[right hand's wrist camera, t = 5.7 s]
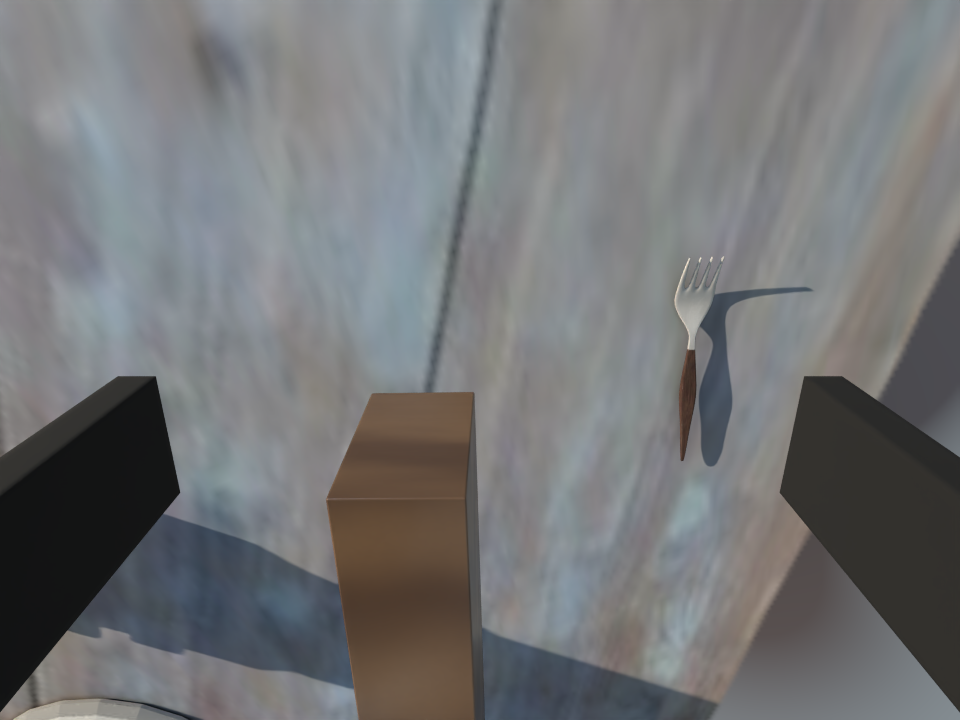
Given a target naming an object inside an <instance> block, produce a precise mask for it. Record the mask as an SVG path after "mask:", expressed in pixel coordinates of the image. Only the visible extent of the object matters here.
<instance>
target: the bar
mask: <svg viewBox="0 0 960 720" xmlns="http://www.w3.org/2000/svg"><path fill="white" fill-rule="evenodd" d="M326 502H327V509H328V516H329V523H330V529H331V536H332V543H333V549H334V556H335V563H336V570H337V576H338V583H339V590H340V597H341V603H342V610H343V617H344V624H345V630H346V637H347V644H348V651H349V657H350V664H351V671H352V678H353V684H354V691H355V698H356V705H357V711H358V718H359V720H485V711H484V679H483V648H482V616H481V585H480V553H479V522H478V491H477V459H476V428H475V396H474V392H450V393H373V394H372V395H371V397H370V399H369V402H368V404H367V406H366V408H365V411H364V413H363V415H362V418H361V420H360V422H359V425H358V427H357V429H356V432H355V434H354V436H353V438H352V441H351V443H350V445H349V448H348V450H347V452H346V455H345V457H344V459H343V461H342V464H341V466H340V468H339V471H338V473H337V475H336V478H335V480H334V482H333V485H332V487H331V489H330V491H329V494H328V496H327V498H326Z"/></svg>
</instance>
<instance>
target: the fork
mask: <svg viewBox="0 0 960 720" xmlns="http://www.w3.org/2000/svg"><path fill="white" fill-rule="evenodd" d="M724 258H725V257H724V256H723V257H722V259H721V261H720V263H719V266H718V268H717V270H716V272H715V274H714V277H713V279H712V282H711V284H710V286H709V287H706V281H707V277H708V273H709V270H710V266H711V263H712V260H713V257H711V259H710V261H709V264H708V266H707V268H706V270H705V273H704V275H703V278H702V280H701V283H700V285H699V286H698V287H697V288H696V287H695V282H696V278H697V274H698V270H699V266H700V263H701V259H702V258H701V257H700V259H699V262H698V264H697V266H696V269H695V271H694V274H693V276H692V279H691V281H690V284H689V286H688V287H687V288H685V287H684V284H685V279H686V275H687V271H688V266H689V263H690V260H691V258H689V259H688V262H687V264H686V267H685V269H684V272H683V274H682V277H681V280H680V283H679V286H678V289H677V292H676V295H675V307H676V310H677V312H678V314H679V316H680V318H681V320H682V321H683V323H684V324H685V326H686V328H687V330H688V333H689V343H688V349H687V354H686V358H685V363H684V368H683V372H682V377H681V383H680V390H679V412H680V456H681V461H683V460H684V456H685V451H686V446H687V441H688V435H689V430H690V424H691V419H692V415H693V410H694V405H695V398H696V363H695V337H696V333H697V330H698V328H699V326H700V324H701V323H702V321H703V319H704V318H705V316H706V314H707V312H708V310H709V309H710V306H711V304H712V301H713V298H714V293H715V288H716V283H717V279H718V276H719V273H720V269H721V266H722V263H723V260H724Z"/></svg>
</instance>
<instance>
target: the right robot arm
mask: <svg viewBox="0 0 960 720" xmlns="http://www.w3.org/2000/svg"><path fill="white" fill-rule="evenodd" d="M179 494H180V489H179V484H178V479H177V475H176V470H175V465H174V461H173V456H172V451H171V446H170V442H169V437H168V432H167V427H166V423H165V418H164V413H163V408H162V404H161V399H160V394H159V390H158V385H157V380H156V376H118V377H116V378H115V379H113V380H112V381H110V382H109V383H108V384H106V385H105V386H103V387H102V388H100V389H99V390H97V391H96V392H95V393H93V394H92V395H90V396H89V397H87V398H86V399H84V400H83V401H81V402H80V403H79V404H77V405H76V406H74V407H73V408H71V409H70V410H68V411H67V412H65V413H64V414H63V415H61V416H60V417H58V418H57V419H55V420H54V421H52V422H51V423H50V424H48V425H47V426H45V427H44V428H42V429H41V430H39V431H38V432H36V433H35V434H34V435H32V436H31V437H29V438H28V439H26V440H25V441H23V442H22V443H20V444H19V445H18V446H16V447H15V448H13V449H12V450H10V451H9V452H7V453H6V454H5V455H3V456H2V457H0V712H1V711H2V709H3V708H4V707H5V706H6V705H7V703H8V702H9V701H10V700H11V698H12V697H13V696H14V695H15V694H16V692H17V691H18V690H19V689H20V687H21V686H22V685H23V684H24V683H25V681H26V680H27V679H28V678H29V676H30V675H31V674H32V673H33V672H34V670H35V669H36V668H37V667H38V666H39V664H40V663H41V662H42V661H43V659H44V658H45V657H46V656H47V655H48V653H49V652H50V651H51V650H52V648H53V647H54V646H55V645H56V644H57V642H58V641H59V640H60V639H61V637H62V636H63V635H64V634H65V633H66V631H67V630H68V629H69V628H70V626H71V625H72V624H73V623H74V622H75V620H76V619H77V618H78V617H79V616H80V614H81V613H82V612H83V611H84V609H85V608H86V607H87V606H88V605H89V603H90V602H91V601H92V600H93V598H94V597H95V596H96V595H97V594H98V592H99V591H100V590H101V589H102V587H103V586H104V585H105V584H106V583H107V581H108V580H109V579H110V578H111V576H112V575H113V574H114V573H115V572H116V570H117V569H118V568H119V567H120V565H121V564H122V563H123V562H124V561H125V559H126V558H127V557H128V556H129V555H130V553H131V552H132V551H133V550H134V548H135V547H136V546H137V545H138V544H139V542H140V541H141V540H142V539H143V537H144V536H145V535H146V534H147V533H148V531H149V530H150V529H151V528H152V526H153V525H154V524H155V523H156V522H157V520H158V519H159V518H160V517H161V515H162V514H163V513H164V512H165V511H166V509H167V508H168V507H169V506H170V504H171V503H172V502H173V501H174V500H175V498H176V497H177V496H178V495H179ZM780 494H781V495H782V496H783V497H784V498H785V500H786V501H787V502H788V503H789V504H790V506H791V507H792V508H793V509H794V511H795V512H796V513H797V514H798V515H799V517H800V518H801V519H802V520H803V522H804V523H805V524H806V525H807V526H808V528H809V529H810V530H811V531H812V533H813V534H814V535H815V536H816V537H817V539H818V540H819V541H820V542H821V544H822V545H823V546H824V547H825V548H826V550H827V551H828V552H829V553H830V554H831V556H832V557H833V558H834V559H835V561H836V562H837V563H838V564H839V565H840V567H841V568H842V569H843V570H844V572H845V573H846V574H847V575H848V576H849V578H850V579H851V580H852V581H853V583H854V584H855V585H856V586H857V587H858V589H859V590H860V591H861V592H862V594H863V595H864V596H865V597H866V598H867V600H868V601H869V602H870V603H871V604H872V606H873V607H874V608H875V609H876V611H877V612H878V613H879V614H880V616H881V617H882V618H883V619H884V620H885V622H886V623H887V624H888V625H889V626H890V628H891V629H892V630H893V631H894V633H895V634H896V635H897V636H898V637H899V639H900V640H901V641H902V642H903V644H904V645H905V646H906V647H907V648H908V650H909V651H910V652H911V653H912V655H913V656H914V657H915V658H916V659H917V661H918V662H919V663H920V664H921V666H922V667H923V668H924V669H925V670H926V672H927V673H928V674H929V675H930V676H931V678H932V679H933V680H934V681H935V683H936V684H937V685H938V686H939V687H940V689H941V690H942V691H943V692H944V694H945V695H946V696H947V697H948V698H949V700H950V701H951V702H952V703H953V705H954V706H955V707H956V708H957V709H958V711H959V712H960V457H958V456H957V455H955V454H954V453H953V452H951V451H950V450H948V449H947V448H945V447H944V446H942V445H941V444H939V443H938V442H937V441H935V440H934V439H932V438H931V437H929V436H928V435H926V434H925V433H924V432H922V431H921V430H919V429H918V428H916V427H915V426H913V425H912V424H910V423H909V422H908V421H906V420H905V419H903V418H902V417H900V416H899V415H897V414H896V413H895V412H893V411H892V410H890V409H889V408H887V407H886V406H884V405H883V404H881V403H880V402H879V401H877V400H876V399H874V398H873V397H871V396H870V395H868V394H867V393H865V392H864V391H863V390H861V389H860V388H858V387H857V386H855V385H854V384H852V383H851V382H850V381H848V380H847V379H845V378H844V377H842V376H804V380H803V385H802V390H801V394H800V399H799V404H798V408H797V413H796V418H795V423H794V427H793V432H792V437H791V442H790V446H789V451H788V456H787V461H786V465H785V470H784V475H783V479H782V484H781V489H780Z"/></svg>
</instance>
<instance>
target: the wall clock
mask: <svg viewBox="0 0 960 720" xmlns="http://www.w3.org/2000/svg"><path fill="white" fill-rule="evenodd" d="M13 720H188V719H186V718H184V717H182V716H179V715H176V714H172V713H169V712H166V711H163V710H160V709H156V708H153V707H150V706H147V705H144V704H138V703H131V702H123V701H116V700H109V699H81V700H62V701H59V702H55V703H51V704H48V705H44V706H40V707H37V708H33V709H29V710H28V711H26V712H25V713H23V714H21V715H20V716H18V717H16V718H15V719H13Z"/></svg>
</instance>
